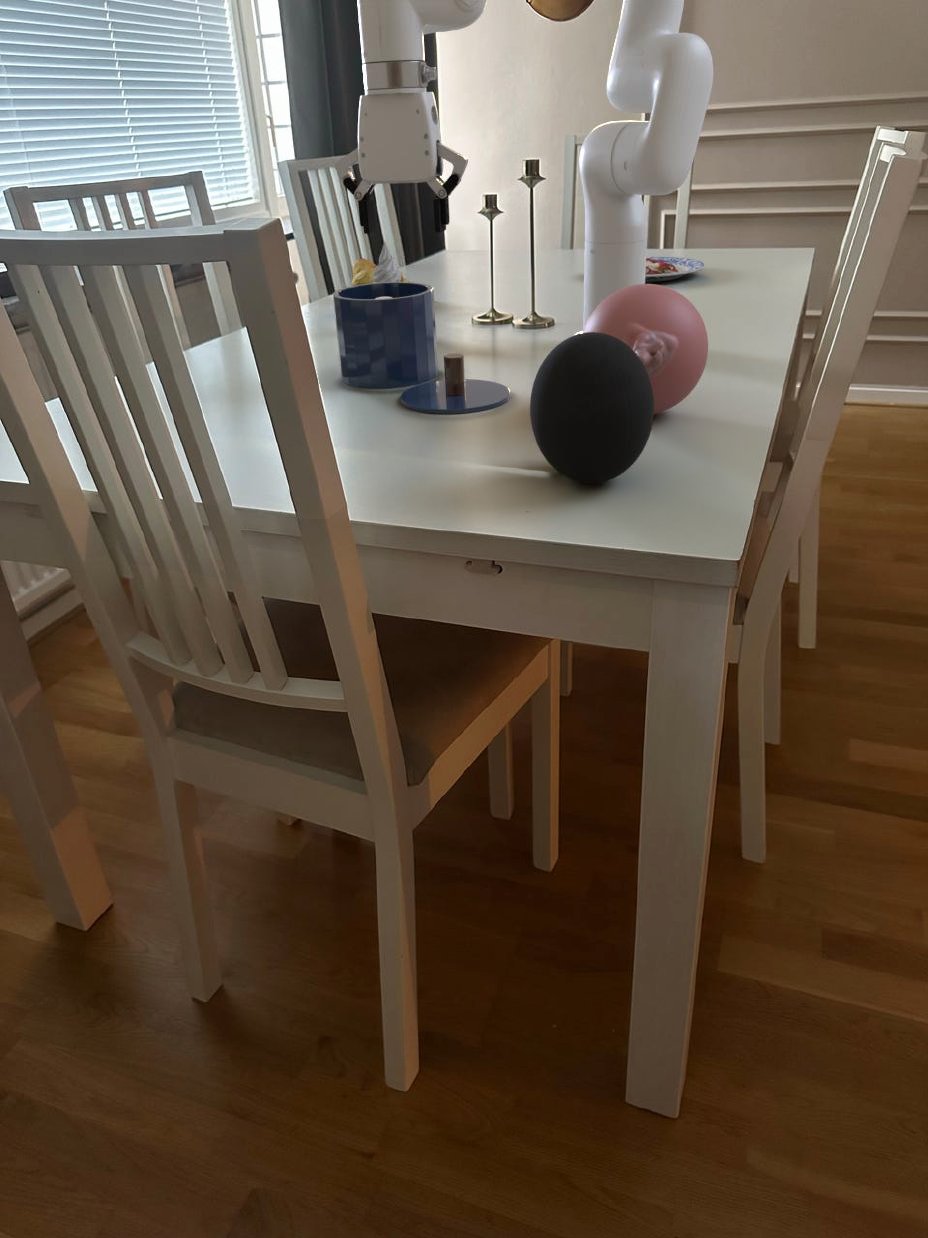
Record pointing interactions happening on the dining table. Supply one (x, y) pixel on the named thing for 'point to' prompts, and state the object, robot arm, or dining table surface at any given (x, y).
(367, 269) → the bread roll
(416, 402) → the lid
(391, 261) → the ice cream cone
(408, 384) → the pot
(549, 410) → the decorative egg
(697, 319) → the balloon
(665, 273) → the ceramic plate
